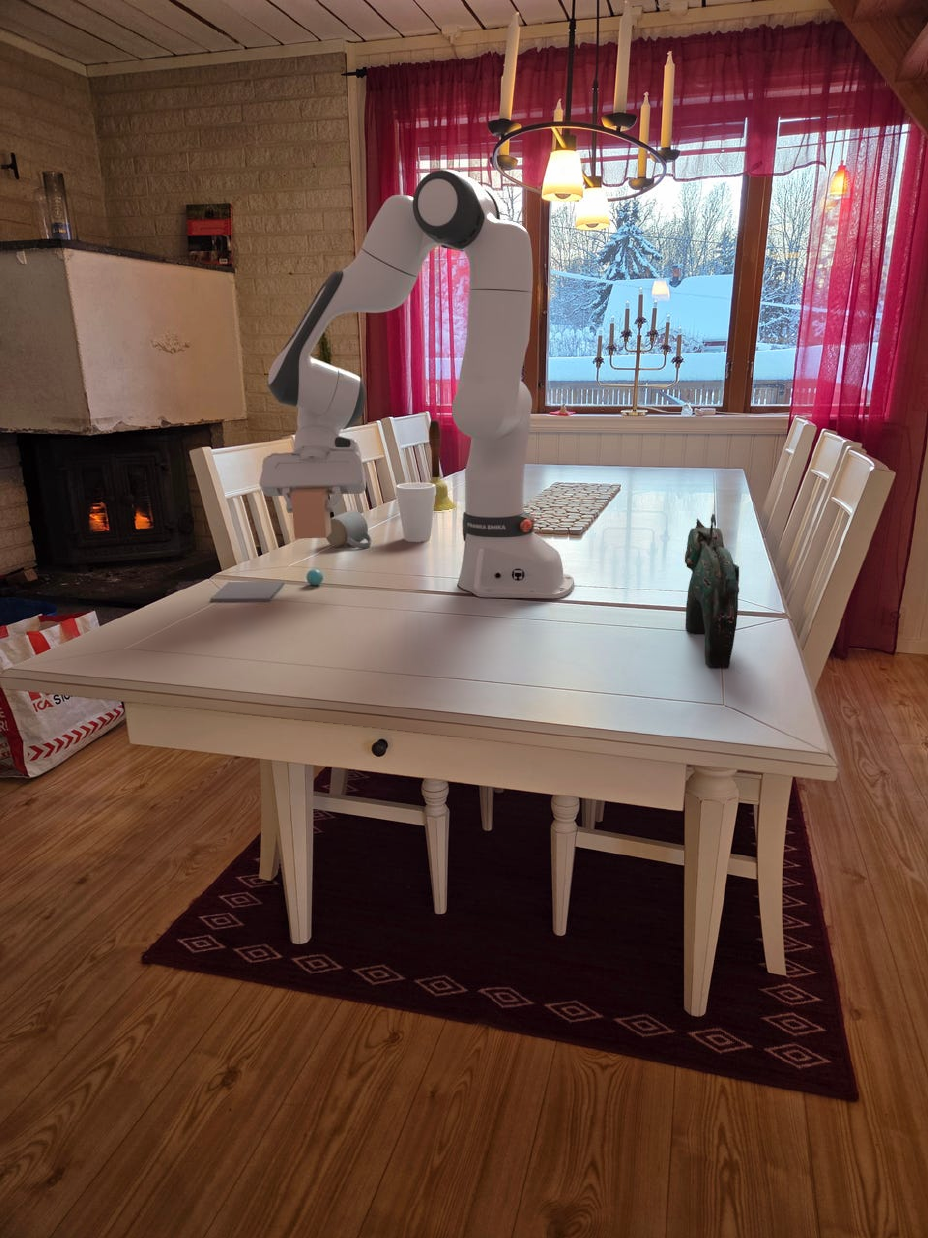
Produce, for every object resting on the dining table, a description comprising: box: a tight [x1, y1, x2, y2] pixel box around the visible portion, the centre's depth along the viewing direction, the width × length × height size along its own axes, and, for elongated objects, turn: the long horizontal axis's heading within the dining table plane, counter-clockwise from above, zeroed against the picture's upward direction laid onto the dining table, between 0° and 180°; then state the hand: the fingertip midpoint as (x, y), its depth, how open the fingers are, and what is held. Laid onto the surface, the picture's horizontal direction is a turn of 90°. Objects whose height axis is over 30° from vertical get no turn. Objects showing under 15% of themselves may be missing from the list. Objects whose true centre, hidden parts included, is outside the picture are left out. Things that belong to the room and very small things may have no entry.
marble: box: [305, 568, 324, 586], centre depth 155 cm, size 3×3×3 cm
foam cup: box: [395, 482, 436, 543], centre depth 191 cm, size 10×9×13 cm
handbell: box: [427, 419, 457, 511], centre depth 227 cm, size 12×12×25 cm
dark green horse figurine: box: [684, 513, 740, 669], centre depth 118 cm, size 20×6×20 cm, turn 174°
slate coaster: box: [209, 581, 285, 603], centre depth 151 cm, size 11×11×1 cm
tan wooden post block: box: [290, 488, 331, 539], centre depth 151 cm, size 6×5×9 cm
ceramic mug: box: [325, 510, 372, 549], centre depth 186 cm, size 11×8×8 cm
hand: (310, 510), depth 150 cm, fingers closed on tan wooden post block, 6 cm apart
